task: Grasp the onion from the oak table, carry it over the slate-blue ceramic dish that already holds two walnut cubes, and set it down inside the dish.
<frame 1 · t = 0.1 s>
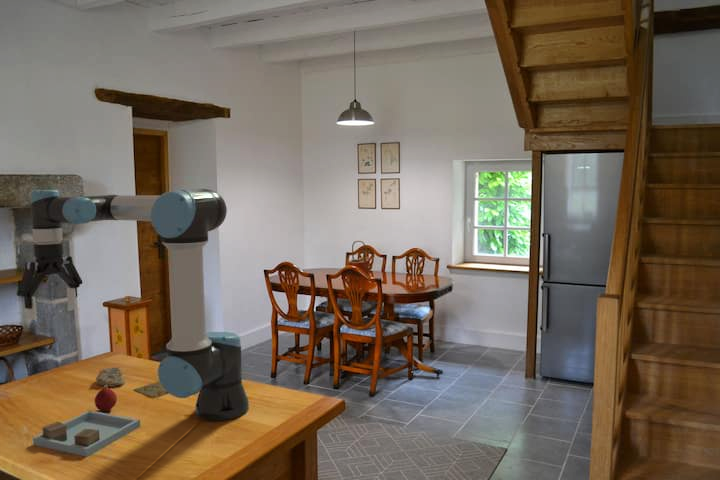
hand: (53, 313, 169), 28 cm above the table, fingers open, 13 cm apart
onion: (106, 413, 166), on the table
dish: (88, 437, 150), on the table
walnut cube b: (55, 440, 147), point 1 cm above the table, touching dish
rock: (111, 384, 190), on the table
speckled stone tile: (159, 390, 185), on the table
walnut cube a: (87, 448, 143), point 1 cm above the table, touching dish
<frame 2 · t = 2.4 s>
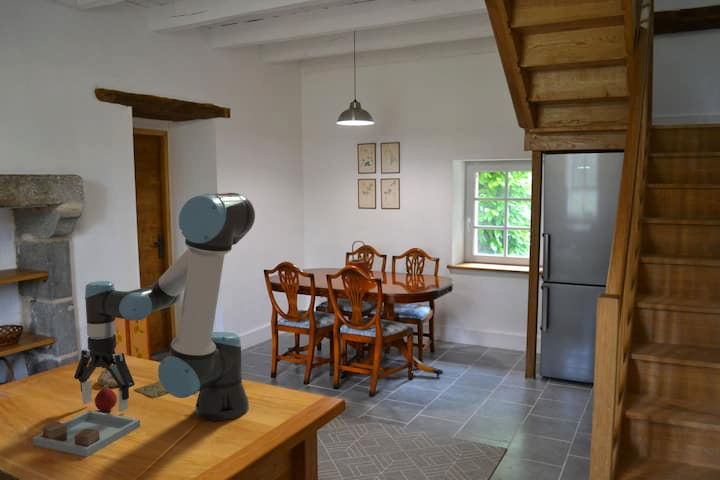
hand: (105, 406, 166), 2 cm above the table, fingers open, 13 cm apart
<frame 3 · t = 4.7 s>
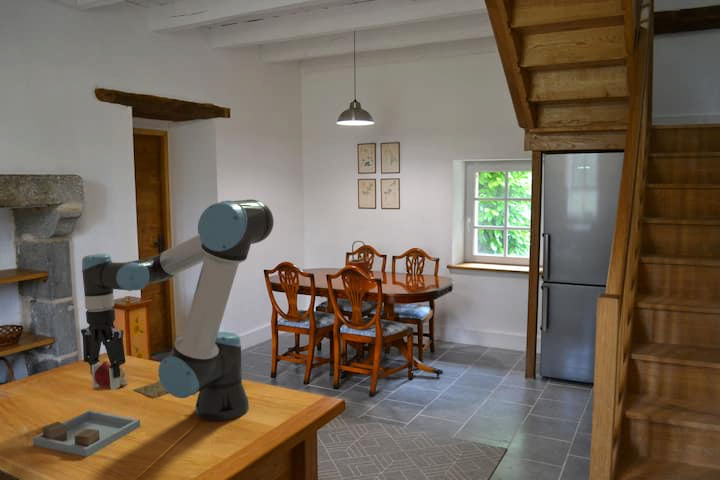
hand: (106, 387, 165), 8 cm above the table, fingers closed on onion, 6 cm apart
onion: (106, 388, 165), point 7 cm above the table, touching gripper
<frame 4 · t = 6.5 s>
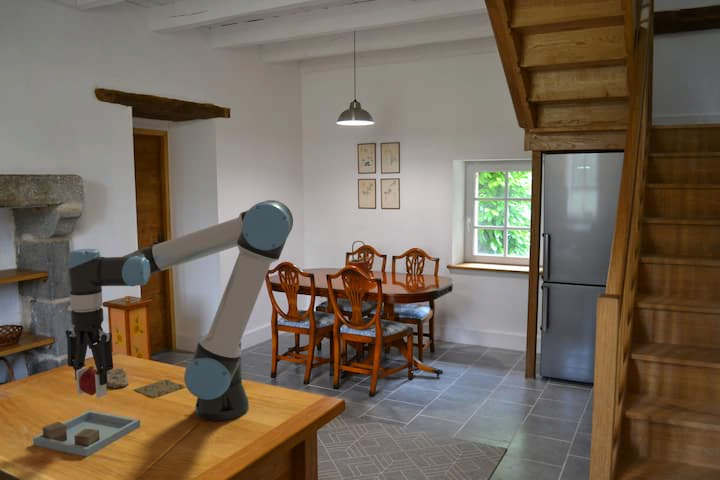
hand: (92, 394, 151), 11 cm above the table, fingers closed on onion, 6 cm apart
onion: (92, 396, 151), point 11 cm above the table, touching gripper
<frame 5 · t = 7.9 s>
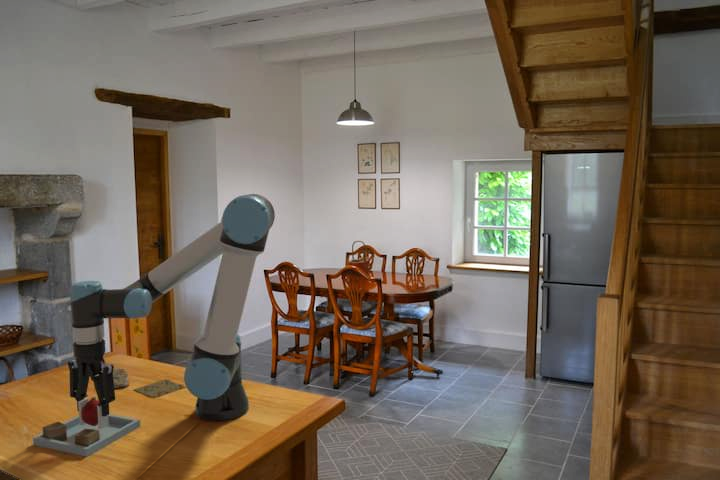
hand: (94, 424, 152), 3 cm above the table, fingers closed on onion, 6 cm apart
onion: (94, 426, 152), point 2 cm above the table, touching gripper
when the fingers open (2 cm above the table, at t = 8.6 s): onion drops 1 cm, resting on dish.
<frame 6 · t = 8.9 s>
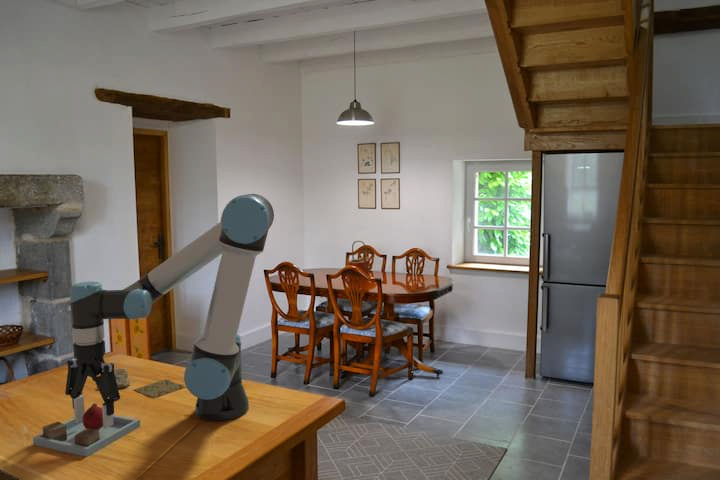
hand: (94, 423, 152), 3 cm above the table, fingers open, 9 cm apart
onion: (95, 432, 152), resting on dish
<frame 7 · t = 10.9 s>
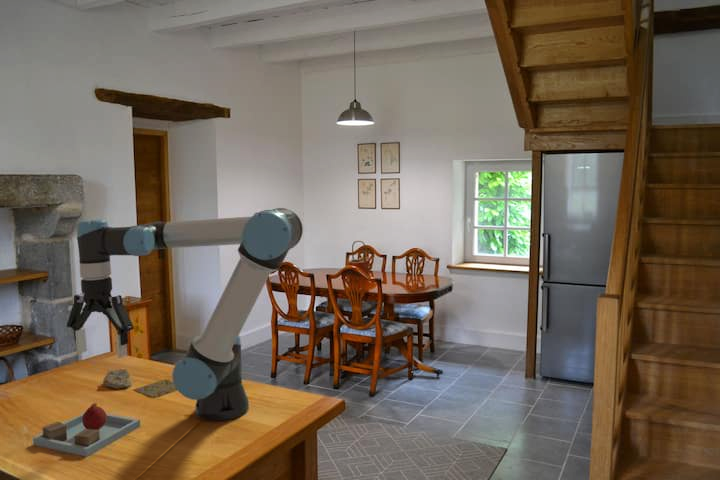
hand: (101, 354, 155), 20 cm above the table, fingers open, 13 cm apart
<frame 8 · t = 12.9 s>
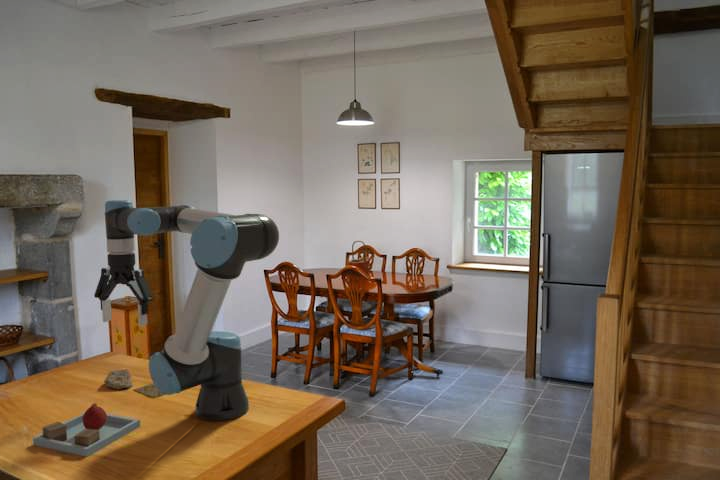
hand: (125, 323, 170), 25 cm above the table, fingers open, 13 cm apart
at the end: onion inside the target area on the dish (2.0 cm from its centre), point 0.4 cm above the dish's base; the gripper is holding nothing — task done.
